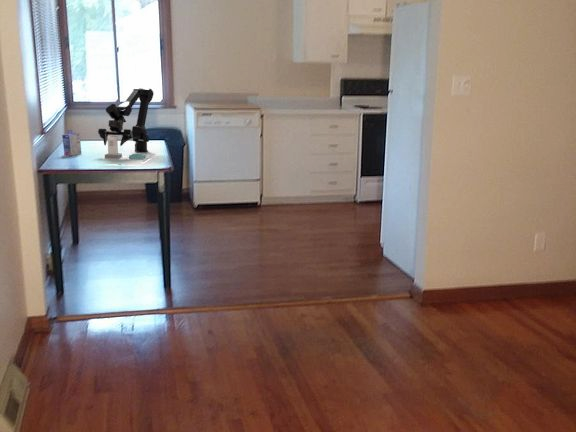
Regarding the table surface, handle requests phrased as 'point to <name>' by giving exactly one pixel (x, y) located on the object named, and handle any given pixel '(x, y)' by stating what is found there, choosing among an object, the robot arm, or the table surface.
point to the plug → (112, 145)
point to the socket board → (126, 157)
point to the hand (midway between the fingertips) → (112, 145)
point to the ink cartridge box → (71, 143)
